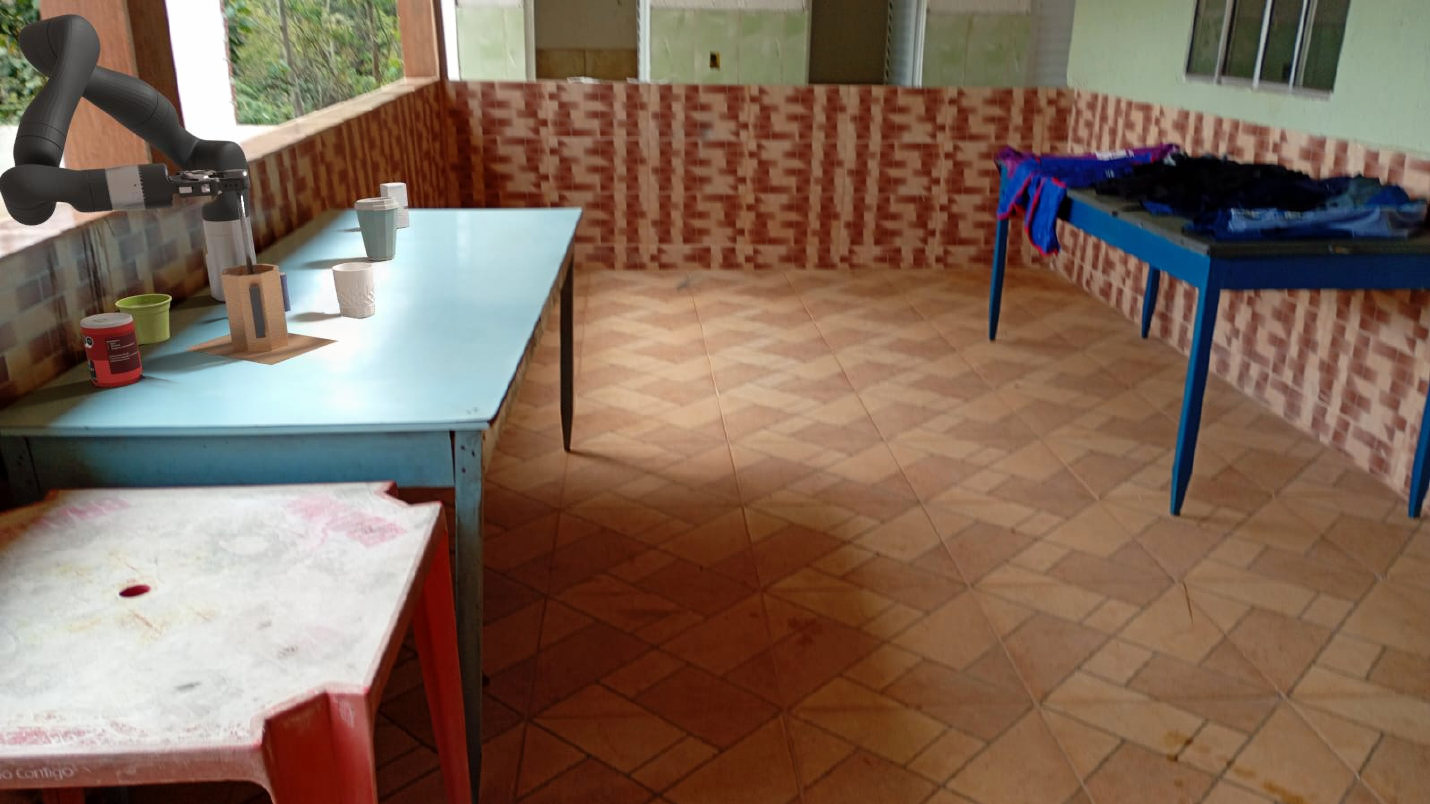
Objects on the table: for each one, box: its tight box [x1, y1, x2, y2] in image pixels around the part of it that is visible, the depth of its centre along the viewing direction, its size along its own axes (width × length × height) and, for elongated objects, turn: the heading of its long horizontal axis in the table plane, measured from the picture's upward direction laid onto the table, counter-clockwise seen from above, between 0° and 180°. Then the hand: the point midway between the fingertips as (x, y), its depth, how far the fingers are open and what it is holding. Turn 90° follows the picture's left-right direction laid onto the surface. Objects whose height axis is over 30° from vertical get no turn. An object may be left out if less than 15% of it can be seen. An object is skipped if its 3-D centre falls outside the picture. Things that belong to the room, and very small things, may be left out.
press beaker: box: [221, 263, 289, 353], centre depth 205 cm, size 11×10×14 cm
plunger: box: [223, 169, 254, 275], centre depth 201 cm, size 6×6×23 cm
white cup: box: [331, 261, 376, 319], centre depth 230 cm, size 8×8×10 cm
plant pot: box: [114, 293, 173, 346], centre depth 211 cm, size 9×9×9 cm
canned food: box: [79, 312, 144, 388], centre depth 191 cm, size 8×8×11 cm
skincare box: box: [379, 181, 411, 229], centre depth 318 cm, size 6×4×12 cm
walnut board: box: [183, 332, 338, 366], centre depth 208 cm, size 22×16×1 cm
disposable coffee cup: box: [354, 196, 400, 262], centre depth 279 cm, size 11×11×15 cm
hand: (242, 180), depth 198 cm, fingers open, 8 cm apart
